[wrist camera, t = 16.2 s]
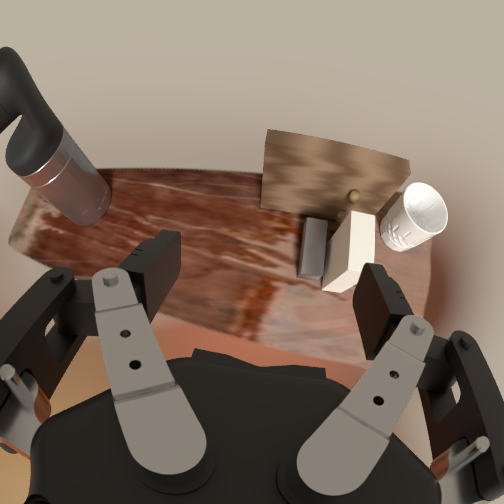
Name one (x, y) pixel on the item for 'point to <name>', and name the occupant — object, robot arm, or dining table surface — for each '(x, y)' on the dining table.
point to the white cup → (414, 217)
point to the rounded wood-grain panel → (325, 186)
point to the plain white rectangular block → (349, 252)
